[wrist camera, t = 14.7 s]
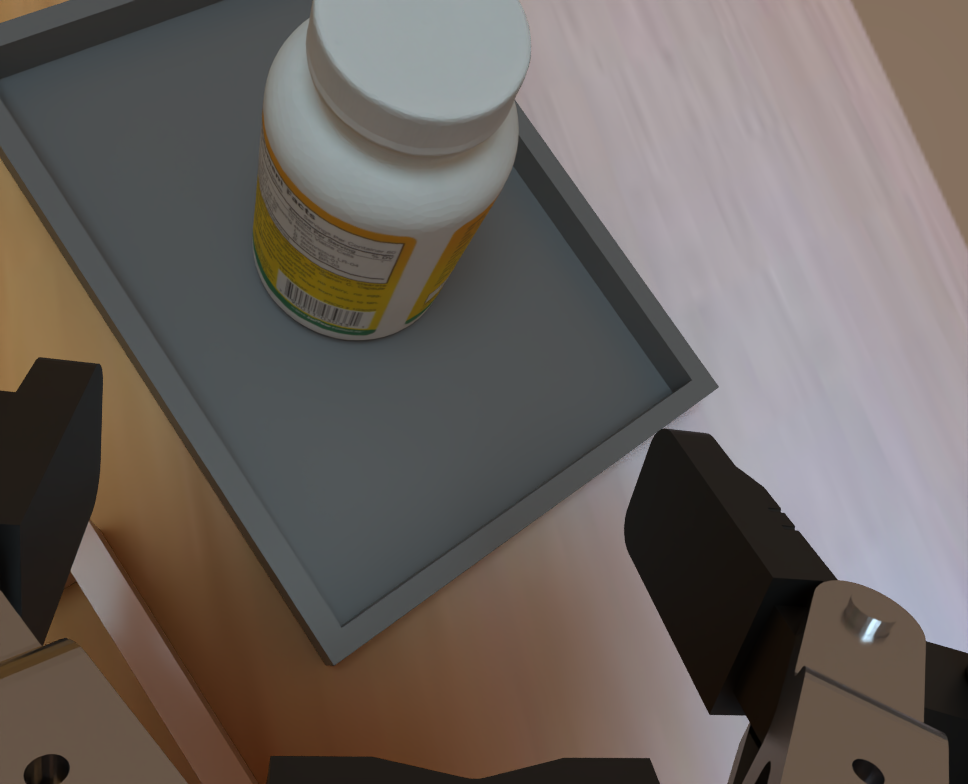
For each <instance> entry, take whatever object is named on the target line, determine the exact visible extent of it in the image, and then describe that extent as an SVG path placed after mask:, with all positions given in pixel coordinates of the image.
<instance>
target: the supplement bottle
mask: <svg viewBox="0 0 968 784" xmlns="http://www.w3.org/2000/svg"><path fill="white" fill-rule="evenodd" d="M530 59H531V37H530V30H529V25H528V22H527V18H526V15H525V12H524V10H523V8H522V6H521V4H520V2H519V0H313V1H312V7H311V13H310V18H309V19H307V20H306V21H305V22H303V23H302V24H301V25H300V26H299V27H298V28H297V29H296V30H295V31H294V32H293V33H292V34H291V35H290V36H289V37H288V38H287V40H286V41H285V42H284V44H283V45H282V46H281V48H280V49H279V51H278V53H277V55H276V57H275V58H274V61H273V63H272V65H271V68H270V70H269V74H268V77H267V81H266V86H265V92H264V100H263V110H262V123H261V136H260V148H259V163H258V177H257V189H256V202H255V211H254V222H253V240H252V242H253V254H254V260H255V264H256V267H257V270H258V273H259V276H260V278H261V281H262V283H263V285H264V286H265V288H266V290H267V292H268V293H269V294H270V296H271V297H272V299H273V300H274V301H275V302H276V303H277V304H278V305H279V306H280V307H281V308H282V309H283V310H284V311H285V312H286V313H287V314H288V315H289V316H291V317H292V318H293V319H294V320H296V321H297V322H299V323H300V324H302V325H304V326H305V327H307V328H309V329H311V330H313V331H315V332H318V333H320V334H323V335H326V336H330V337H333V338H338V339H344V340H369V339H376V338H381V337H385V336H388V335H391V334H394V333H396V332H398V331H400V330H402V329H404V328H406V327H408V326H409V325H411V324H412V323H414V322H415V321H416V320H417V319H419V318H420V317H421V316H422V315H423V314H424V313H425V312H426V310H427V309H428V308H429V307H430V306H431V304H432V303H433V301H434V300H435V298H436V297H437V295H438V294H439V292H440V291H441V289H442V287H443V285H444V284H445V282H446V281H447V279H448V277H449V276H450V274H451V272H452V271H453V269H454V267H455V266H456V264H457V262H458V260H459V259H460V257H461V256H462V254H463V252H464V251H465V249H466V248H467V246H468V244H469V243H470V241H471V239H472V238H473V236H474V234H475V233H476V231H477V230H478V228H479V226H480V225H481V223H482V222H483V220H484V218H485V217H486V215H487V214H488V212H489V210H490V209H491V207H492V206H493V204H494V202H495V200H496V199H497V197H498V195H499V194H500V192H501V190H502V188H503V186H504V184H505V183H506V181H507V179H508V177H509V174H510V172H511V170H512V167H513V164H514V161H515V156H516V152H517V146H518V136H519V126H518V115H517V109H516V104H515V101H514V99H515V97H516V95H517V93H518V91H519V89H520V87H521V85H522V83H523V81H524V78H525V75H526V73H527V70H528V67H529V63H530Z"/></svg>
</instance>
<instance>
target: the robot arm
mask: <svg viewBox="0 0 968 784" xmlns="http://www.w3.org/2000/svg"><path fill="white" fill-rule="evenodd" d="M102 393H103V374H102V367H101V365H100V364H95V363H86V362H77V361H69V360H60V359H51V358H42V357H39V358H38V359H37V360H36V361H35V363H34V364H33V366H32V367H31V369H30V371H29V372H28V374H27V375H26V377H25V379H24V380H23V382H22V383H21V385H20V387H19V388H18V390H17V391H16V392H7V391H0V784H188V783H187V782H186V781H185V779H184V778H183V777H182V775H181V774H180V773H179V772H178V770H177V769H176V768H175V766H174V765H173V764H172V763H171V761H170V760H169V759H168V758H167V756H166V755H165V754H164V752H163V751H162V750H161V749H160V747H159V746H158V745H157V743H156V742H155V741H154V740H153V738H152V737H151V736H150V734H149V733H148V732H147V731H146V729H145V728H144V727H143V725H142V724H141V723H140V722H139V720H138V719H137V718H136V717H135V715H134V714H133V713H132V711H131V710H130V709H129V708H128V706H127V705H126V704H125V702H124V701H123V700H122V699H121V697H120V696H119V695H118V693H117V692H116V691H115V690H114V688H113V687H112V686H111V684H110V683H109V682H108V681H107V679H106V678H105V677H104V675H103V674H102V673H101V672H100V670H99V669H98V668H97V667H96V665H95V664H94V663H93V661H92V660H91V659H90V658H89V656H88V655H87V654H86V652H85V651H84V650H83V649H82V648H81V647H80V646H79V645H78V644H77V643H76V642H74V641H73V640H71V639H67V638H64V639H60V640H58V641H55V642H53V643H50V644H48V645H45V646H43V644H44V641H45V638H46V636H47V633H48V630H49V628H50V625H51V622H52V619H53V617H54V614H55V611H56V609H57V606H58V603H59V600H60V598H61V595H62V592H63V590H64V587H65V584H66V582H67V579H68V576H69V573H70V571H71V568H72V565H73V563H74V560H75V557H76V554H77V552H78V549H79V546H80V544H81V541H82V538H83V536H84V533H85V530H86V527H87V525H88V522H89V519H90V517H91V514H92V511H93V508H94V504H95V500H96V495H97V490H98V484H99V476H100V462H101V428H102ZM624 536H625V543H626V547H627V550H628V553H629V555H630V557H631V559H632V561H633V563H634V565H635V567H636V569H637V571H638V573H639V575H640V577H641V579H642V581H643V583H644V585H645V587H646V589H647V591H648V593H649V595H650V597H651V599H652V601H653V603H654V605H655V607H656V609H657V611H658V613H659V615H660V617H661V619H662V621H663V623H664V625H665V627H666V629H667V631H668V633H669V635H670V637H671V639H672V641H673V643H674V645H675V647H676V649H677V651H678V653H679V655H680V657H681V659H682V661H683V663H684V665H685V667H686V669H687V671H688V673H689V675H690V677H691V679H692V681H693V683H694V685H695V687H696V689H697V691H698V693H699V695H700V697H701V699H702V701H703V703H704V705H705V707H706V709H707V711H708V713H709V715H746V716H747V718H748V720H749V722H750V723H749V725H748V727H747V729H746V731H745V733H744V735H743V737H742V739H741V741H740V743H739V747H738V750H737V753H736V757H735V760H734V763H733V767H732V770H731V773H730V777H729V780H728V783H727V784H968V653H965V652H962V651H958V650H955V649H951V648H948V647H944V646H941V645H937V644H934V643H930V642H927V641H926V640H925V635H924V633H923V630H922V629H921V627H920V625H919V624H918V623H917V621H916V620H915V619H914V618H913V617H912V616H911V615H910V614H909V613H908V612H907V611H906V610H905V609H904V608H902V607H901V606H900V605H899V604H897V603H896V602H894V601H893V600H891V599H890V598H888V597H886V596H885V595H883V594H881V593H879V592H877V591H875V590H873V589H871V588H868V587H866V586H863V585H860V584H856V583H853V582H848V581H840V580H837V578H836V577H835V576H834V575H833V573H832V572H831V571H830V570H829V568H828V567H827V566H826V565H825V563H824V562H823V561H822V560H821V558H820V557H819V556H818V555H817V553H816V552H815V551H814V550H813V548H812V547H811V546H810V544H809V543H808V542H807V541H806V539H805V538H804V537H803V536H802V534H801V533H800V532H799V531H796V530H795V526H794V524H793V523H792V522H791V521H790V519H789V518H788V517H787V516H786V514H785V513H781V508H780V507H779V506H778V504H777V503H776V502H775V501H774V499H773V498H772V497H771V495H770V494H769V493H768V492H767V490H766V489H765V488H764V487H763V486H762V485H760V484H759V483H758V482H756V481H755V480H754V479H752V478H751V477H750V476H748V475H747V474H746V473H744V472H743V471H742V470H740V469H739V468H738V467H736V466H735V465H734V463H733V462H732V461H731V460H730V458H729V457H728V456H727V454H726V453H725V452H724V451H723V449H722V448H721V447H720V445H719V444H718V443H717V441H716V440H715V439H714V438H713V437H712V436H711V435H710V434H707V433H700V432H691V431H682V430H673V429H661V430H659V431H658V432H657V433H656V434H655V436H654V437H653V439H652V441H651V444H650V447H649V449H648V452H647V455H646V458H645V461H644V464H643V466H642V469H641V472H640V475H639V478H638V480H637V483H636V486H635V489H634V492H633V495H632V497H631V500H630V503H629V506H628V509H627V512H626V517H625V524H624ZM266 784H660V783H659V780H658V778H657V775H656V773H655V770H654V768H653V765H652V763H651V761H650V758H562V759H558V760H554V761H550V762H546V763H542V764H538V765H534V766H530V767H526V768H522V769H518V770H514V771H510V772H506V773H502V774H498V775H494V776H490V777H486V778H481V779H469V778H463V777H459V776H454V775H450V774H446V773H441V772H437V771H432V770H428V769H424V768H419V767H415V766H410V765H406V764H402V763H397V762H393V761H388V760H384V759H380V758H375V757H326V756H271V757H270V764H269V770H268V776H267V782H266Z"/></svg>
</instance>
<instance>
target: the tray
mask: <svg viewBox="0 0 968 784" xmlns="http://www.w3.org/2000/svg"><path fill="white" fill-rule="evenodd" d="M312 1H313V0H69V1H66V2H63V3H60V4H57V5H54V6H51V7H48V8H45V9H42V10H39V11H36V12H33V13H30V14H27V15H24V16H21V17H18V18H15V19H12V20H9V21H6V22H3V23H0V158H1V159H2V161H3V163H4V164H5V166H6V167H7V169H8V170H9V172H10V173H11V175H12V177H13V178H14V180H15V181H16V183H17V184H18V186H19V188H20V189H21V191H22V192H23V194H24V195H25V197H26V198H27V200H28V202H29V203H30V205H31V206H32V208H33V209H34V211H35V212H36V214H37V216H38V217H39V219H40V220H41V222H42V223H43V225H44V227H45V228H46V230H47V231H48V233H49V234H50V236H51V237H52V239H53V241H54V242H55V244H56V245H57V247H58V248H59V250H60V251H61V253H62V255H63V256H64V258H65V259H66V261H67V262H68V264H69V266H70V267H71V269H72V270H73V272H74V273H75V275H76V276H77V278H78V280H79V281H80V283H81V284H82V286H83V287H84V289H85V290H86V292H87V294H88V295H89V297H90V298H91V300H92V301H93V303H94V305H95V306H96V308H97V309H98V311H99V312H100V314H101V315H102V317H103V319H104V320H105V322H106V323H107V325H108V326H109V328H110V329H111V331H112V333H113V334H114V336H115V337H116V339H117V340H118V342H119V343H120V345H121V347H122V348H123V350H124V351H125V353H126V354H127V356H128V358H129V359H130V361H131V362H132V364H133V365H134V367H135V368H136V370H137V372H138V373H139V375H140V376H141V378H142V379H143V381H144V382H145V384H146V386H147V387H148V389H149V390H150V392H151V393H152V395H153V397H154V398H155V400H156V401H157V403H158V404H159V406H160V407H161V409H162V411H163V412H164V414H165V415H166V417H167V418H168V420H169V421H170V423H171V425H172V426H173V428H174V429H175V431H176V432H177V434H178V436H179V437H180V439H181V440H182V442H183V443H184V445H185V446H186V448H187V450H188V451H189V453H190V454H191V456H192V457H193V459H194V460H195V462H196V464H197V465H198V467H199V468H200V470H201V471H202V473H203V475H204V476H205V478H206V479H207V481H208V482H209V484H210V485H211V487H212V489H213V490H214V492H215V493H216V495H217V496H218V498H219V499H220V501H221V503H222V504H223V506H224V507H225V509H226V510H227V512H228V513H229V515H230V517H231V518H232V520H233V521H234V523H235V524H236V526H237V528H238V529H239V531H240V532H241V534H242V535H243V537H244V538H245V540H246V542H247V543H248V545H249V546H250V548H251V549H252V551H253V552H254V554H255V556H256V557H257V559H258V560H259V562H260V563H261V565H262V567H263V568H264V570H265V571H266V573H267V574H268V576H269V577H270V579H271V581H272V582H273V584H274V585H275V587H276V588H277V590H278V591H279V593H280V595H281V596H282V598H283V599H284V601H285V602H286V604H287V606H288V607H289V609H290V610H291V612H292V613H293V615H294V616H295V618H296V620H297V621H298V623H299V624H300V626H301V627H302V629H303V630H304V632H305V634H306V635H307V637H308V638H309V640H310V641H311V643H312V645H313V646H314V648H315V649H316V651H317V652H318V654H319V655H320V657H321V659H322V660H323V662H324V663H325V665H331V666H334V665H336V664H337V663H339V662H340V661H341V660H343V659H344V658H345V657H347V656H348V655H350V654H351V653H352V652H354V651H355V650H357V649H358V648H359V647H361V646H362V645H363V644H365V643H366V642H368V641H369V640H370V639H372V638H373V637H374V636H376V635H377V634H379V633H380V632H381V631H383V630H384V629H386V628H387V627H388V626H390V625H391V624H392V623H394V622H395V621H397V620H398V619H399V618H401V617H402V616H404V615H405V614H406V613H408V612H409V611H410V610H412V609H413V608H415V607H416V606H417V605H419V604H420V603H421V602H423V601H424V600H426V599H427V598H428V597H430V596H431V595H433V594H434V593H435V592H437V591H438V590H439V589H441V588H442V587H444V586H445V585H446V584H448V583H449V582H450V581H452V580H453V579H455V578H456V577H457V576H459V575H460V574H462V573H463V572H464V571H466V570H467V569H468V568H470V567H471V566H473V565H474V564H475V563H477V562H478V561H479V560H481V559H482V558H484V557H485V556H486V555H488V554H489V553H491V552H492V551H493V550H495V549H496V548H497V547H499V546H500V545H502V544H503V543H504V542H506V541H507V540H508V539H510V538H511V537H513V536H514V535H515V534H517V533H518V532H520V531H521V530H522V529H524V528H525V527H526V526H528V525H529V524H531V523H532V522H533V521H535V520H536V519H537V518H539V517H540V516H542V515H543V514H544V513H546V512H547V511H549V510H550V509H551V508H553V507H554V506H555V505H557V504H558V503H560V502H561V501H562V500H564V499H565V498H566V497H568V496H569V495H571V494H572V493H573V492H575V491H576V490H578V489H579V488H580V487H582V486H583V485H584V484H586V483H587V482H589V481H590V480H591V479H593V478H594V477H595V476H597V475H598V474H600V473H601V472H602V471H604V470H605V469H607V468H608V467H609V466H611V465H612V464H613V463H615V462H616V461H618V460H619V459H620V458H622V457H623V456H624V455H626V454H627V453H629V452H630V451H631V450H633V449H634V448H636V447H637V446H638V445H640V444H641V443H642V442H644V441H645V440H647V439H648V438H649V437H651V436H652V435H653V434H655V433H656V432H658V431H659V430H660V429H662V428H663V427H665V426H666V425H667V424H669V423H670V422H671V421H673V420H674V419H676V418H677V417H678V416H680V415H681V414H683V413H684V412H685V411H687V410H688V409H689V408H691V407H692V406H694V405H695V404H696V403H698V402H699V401H700V400H702V399H703V398H705V397H706V396H707V395H709V394H710V393H712V392H713V391H714V390H716V389H717V388H718V387H719V386H718V385H717V384H716V382H715V381H714V379H713V378H712V377H711V375H710V374H709V372H708V371H707V370H706V368H705V367H704V365H703V364H702V363H701V361H700V360H699V358H698V357H697V356H696V354H695V353H694V351H693V350H692V349H691V347H690V346H689V344H688V343H687V341H686V340H685V339H684V337H683V336H682V334H681V333H680V332H679V330H678V329H677V327H676V326H675V325H674V323H673V322H672V320H671V319H670V318H669V316H668V315H667V313H666V312H665V311H664V309H663V308H662V306H661V305H660V303H659V302H658V301H657V299H656V298H655V296H654V295H653V294H652V292H651V291H650V289H649V288H648V287H647V285H646V284H645V282H644V281H643V280H642V278H641V277H640V275H639V274H638V273H637V271H636V270H635V268H634V267H633V265H632V264H631V263H630V261H629V260H628V258H627V257H626V256H625V254H624V253H623V251H622V250H621V249H620V247H619V246H618V244H617V243H616V242H615V240H614V239H613V237H612V236H611V235H610V233H609V232H608V230H607V229H606V227H605V226H604V225H603V223H602V222H601V220H600V219H599V218H598V216H597V215H596V213H595V212H594V211H593V209H592V208H591V206H590V205H589V204H588V202H587V201H586V199H585V198H584V197H583V195H582V194H581V192H580V191H579V190H578V188H577V187H576V185H575V184H574V182H573V181H572V180H571V178H570V177H569V175H568V174H567V173H566V171H565V170H564V168H563V167H562V166H561V164H560V163H559V161H558V160H557V159H556V157H555V156H554V154H553V153H552V152H551V150H550V149H549V147H548V146H547V144H546V143H545V142H544V140H543V139H542V137H541V136H540V135H539V133H538V132H537V130H536V129H535V128H534V126H533V125H532V123H531V122H530V121H529V119H528V118H527V116H526V115H525V114H524V112H523V111H522V109H521V108H520V106H519V105H518V104H517V102H516V101H515V99H514V101H515V104H516V109H517V115H518V126H519V136H518V146H517V152H516V156H515V161H514V164H513V167H512V170H511V172H510V174H509V177H508V179H507V181H506V183H505V184H504V186H503V188H502V190H501V192H500V194H499V195H498V197H497V199H496V200H495V202H494V204H493V206H492V207H491V209H490V210H489V212H488V214H487V215H486V217H485V218H484V220H483V222H482V223H481V225H480V226H479V228H478V230H477V231H476V233H475V234H474V236H473V238H472V239H471V241H470V243H469V244H468V246H467V248H466V249H465V251H464V252H463V254H462V256H461V257H460V259H459V260H458V262H457V264H456V266H455V267H454V269H453V271H452V272H451V274H450V276H449V277H448V279H447V281H446V282H445V284H444V285H443V287H442V289H441V291H440V292H439V294H438V295H437V297H436V298H435V300H434V301H433V303H432V304H431V306H430V307H429V308H428V309H427V310H426V312H425V313H424V314H423V315H422V316H421V317H420V318H419V319H417V320H416V321H415V322H414V323H412V324H411V325H409V326H408V327H406V328H404V329H402V330H400V331H398V332H396V333H394V334H391V335H388V336H385V337H381V338H376V339H369V340H344V339H338V338H333V337H330V336H326V335H323V334H320V333H318V332H315V331H313V330H311V329H309V328H307V327H305V326H304V325H302V324H300V323H299V322H297V321H296V320H294V319H293V318H292V317H291V316H289V315H288V314H287V313H286V312H285V311H284V310H283V309H282V308H281V307H280V306H279V305H278V304H277V303H276V302H275V301H274V300H273V299H272V297H271V296H270V294H269V293H268V292H267V290H266V288H265V286H264V285H263V283H262V281H261V278H260V276H259V273H258V270H257V267H256V264H255V260H254V254H253V242H252V240H253V222H254V211H255V202H256V189H257V177H258V163H259V148H260V136H261V123H262V110H263V100H264V92H265V86H266V81H267V77H268V74H269V70H270V68H271V65H272V63H273V61H274V58H275V57H276V55H277V53H278V51H279V49H280V48H281V46H282V45H283V44H284V42H285V41H286V40H287V38H288V37H289V36H290V35H291V34H292V33H293V32H294V31H295V30H296V29H297V28H298V27H299V26H300V25H301V24H302V23H303V22H305V21H306V20H307V19H309V18H310V13H311V7H312Z"/></svg>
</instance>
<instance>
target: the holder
mask: <svg viewBox="0 0 968 784" xmlns="http://www.w3.org/2000/svg"><path fill="white" fill-rule="evenodd" d="M76 581H77V582H78V584H79V586H80V587H81V589H82V591H83V592H84V594H85V595H86V597H87V599H88V600H89V602H90V603H91V605H92V607H93V608H94V610H95V612H96V613H97V615H98V616H99V618H100V620H101V621H102V623H103V625H104V626H105V628H106V629H107V631H108V633H109V634H110V636H111V637H112V639H113V641H114V642H115V644H116V646H117V647H118V649H119V650H120V652H121V654H122V655H123V657H124V658H125V660H126V662H127V663H128V665H129V667H130V668H131V670H132V671H133V673H134V675H135V676H136V678H137V680H138V681H139V683H140V684H141V686H142V688H143V689H144V691H145V692H146V694H147V696H148V697H149V699H150V701H151V702H152V704H153V705H154V707H155V709H156V710H157V712H158V714H159V715H160V717H161V718H162V720H163V722H164V723H165V725H166V726H167V728H168V730H169V731H170V733H171V735H172V736H173V738H174V739H175V741H176V743H177V744H178V746H179V747H180V749H181V751H182V752H183V754H184V756H185V757H186V759H187V760H188V762H189V764H190V765H191V767H192V769H193V770H194V772H195V773H196V775H197V777H198V778H199V780H200V781H201V783H202V784H258V782H257V781H256V779H255V778H254V776H253V774H252V773H251V771H250V770H249V768H248V766H247V765H246V763H245V762H244V760H243V758H242V757H241V755H240V754H239V752H238V750H237V749H236V747H235V746H234V744H233V742H232V741H231V739H230V738H229V736H228V734H227V733H226V731H225V730H224V728H223V726H222V725H221V723H220V722H219V720H218V718H217V717H216V715H215V714H214V712H213V710H212V709H211V707H210V706H209V704H208V702H207V701H206V699H205V698H204V696H203V694H202V693H201V691H200V690H199V688H198V686H197V685H196V683H195V682H194V680H193V678H192V677H191V675H190V674H189V672H188V670H187V669H186V667H185V666H184V664H183V662H182V661H181V659H180V658H179V656H178V654H177V653H176V651H175V650H174V648H173V646H172V645H171V643H170V642H169V640H168V638H167V637H166V635H165V634H164V632H163V630H162V629H161V627H160V626H159V624H158V622H157V621H156V619H155V618H154V616H153V614H152V613H151V611H150V609H149V608H148V606H147V605H146V603H145V601H144V600H143V598H142V597H141V595H140V593H139V592H138V590H137V589H136V587H135V585H134V584H133V582H132V581H131V579H130V577H129V576H128V574H127V573H126V571H125V569H124V568H123V566H122V565H121V563H120V561H119V560H118V558H117V557H116V555H115V553H114V552H113V550H112V549H111V547H110V545H109V544H108V542H107V541H106V539H105V537H104V536H103V534H102V533H101V531H100V529H99V528H98V527H97V526H96V525H95V524H94V523H93V522H92V521H91V520H90V519H89V522H88V525H87V527H86V530H85V533H84V536H83V538H82V541H81V544H80V546H79V549H78V552H77V554H76V557H75V560H74V563H73V565H72V568H71V571H70V573H69V576H68V579H67V582H66V584H65V587H64V589H65V588H66V587H68V586H70V585H71V584H73V583H75V582H76Z"/></svg>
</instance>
